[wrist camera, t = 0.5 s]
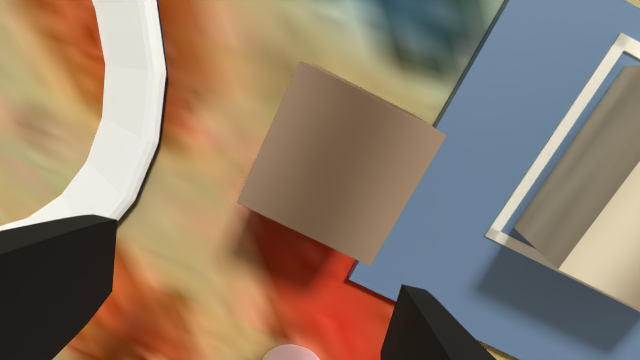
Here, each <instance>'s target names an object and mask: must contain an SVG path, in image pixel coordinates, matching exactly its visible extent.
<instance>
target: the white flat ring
mask: <svg viewBox="0 0 640 360" xmlns="http://www.w3.org/2000/svg"><path fill="white" fill-rule="evenodd" d="M92 2H93V4H94V7H95V10H96V15H97V21H98V27H99V32H100V38H101V43H102V49H103V54H104V60H105V65H106V66H105V82H104V98H103V113H102V119H101V122H100V125H99V128H98V131H97V134H96V136H95V139H94V142H93V145H92V148H91V151H90V153H89V156H88V159H87V162H86V163H85V164H84V166H83V167H82V168H81V169H80V171H79V172H78V173H77V175H76V176H75V177H74V179H73V180H72V181H71V183H70V184H69V185H68V187H67V188H66V189H65V191H64V192H63V193H62V195H61V196H59V197H58V198H56V199H55V200H53V201H52V202H50V203H49V204H47V205H46V206H45V207H43V208H42V209H40V210H39V211H37V212H36V213H34V214H33V215H31V216H30V217H29V218H26V219H23V220H19V221H16V222H12V223H9V224H6V225H2V226H0V231H1V230H6V229H11V228H16V227H21V226H26V225H31V224H36V223H41V222H46V221H51V220H56V219H61V218H67V217H73V216H80V215H90V214H95V215H99V216H103V217H108V218H112V219H117V222H118V221H119V220H120V218H121V217H122V216H123V215H124V214H125V212H126V211H127V210H128V209H129V208H130V206H131V205H132V204H133V203H134V202H135V200H136V199H137V196H138V194H139V191H140V189H141V187H142V184H143V182H144V179H145V177H146V174H147V172H148V170H149V167H150V165H151V162H152V160H153V157H154V155H155V152H156V150H157V148H158V145H159V143H160V135H161V126H162V118H163V109H164V100H165V91H166V82H167V73H168V71H167V64H166V57H165V49H164V42H163V35H162V27H161V20H160V13H159V5H158V0H92Z"/></svg>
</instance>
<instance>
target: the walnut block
mask: <svg viewBox="0 0 640 360" xmlns="http://www.w3.org/2000/svg"><path fill="white" fill-rule="evenodd" d="M445 137H446V135H445V134H443V133H442V132H440V131H439V130H437V129H436V128H434V127H433V126H431V125H429V124H428V123H426V122H425V121H423V120H422V119H420V118H419V117H417V116H416V115H414V114H412V113H410V112H408V111H406V110H404V109H402V108H400V107H398V106H396V105H394V104H392V103H390V102H388V101H386V100H384V99H382V98H380V97H378V96H376V95H374V94H372V93H370V92H368V91H366V90H364V89H362V88H360V87H358V86H356V85H354V84H352V83H350V82H348V81H346V80H344V79H342V78H340V77H338V76H336V75H334V74H332V73H331V72H329V71H327V70H325V69H323V68H321V67H319V66H317V65H314V64H309V63H304V62H299V64H298V66H297V68H296V70H295V73H294V75H293V77H292V79H291V82H290V84H289V86H288V88H287V91H286V93H285V95H284V97H283V99H282V102H281V104H280V106H279V108H278V111H277V113H276V115H275V117H274V120H273V122H272V124H271V126H270V129H269V131H268V133H267V135H266V138H265V140H264V142H263V144H262V147H261V149H260V151H259V153H258V156H257V158H256V160H255V162H254V164H253V167H252V169H251V171H250V173H249V176H248V178H247V180H246V182H245V185H244V187H243V189H242V191H241V194H240V196H239V198H238V200H237V203H238V204H240V205H242V206H244V207H247V208H249V209H251V210H253V211H255V212H257V213H259V214H261V215H263V216H265V217H268V218H270V219H272V220H274V221H276V222H278V223H280V224H282V225H284V226H287V227H289V228H291V229H293V230H295V231H297V232H299V233H301V234H303V235H306V236H308V237H310V238H312V239H314V240H316V241H318V242H320V243H322V244H325V245H327V246H329V247H331V248H333V249H335V250H337V251H339V252H341V253H344V254H346V255H348V256H350V257H352V258H354V259H356V260H358V261H360V262H363V263H365V264H367V265H369V266H370V265H371V263H372V262H373V260H374V258H375V257H376V255H377V253H378V252H379V250H380V248H381V246H382V245H383V243H384V241H385V240H386V238H387V236H388V234H389V233H390V231H391V229H392V228H393V226H394V224H395V223H396V221H397V219H398V217H399V216H400V214H401V212H402V211H403V209H404V207H405V206H406V204H407V202H408V200H409V199H410V197H411V195H412V194H413V192H414V190H415V188H416V187H417V185H418V183H419V182H420V180H421V178H422V177H423V175H424V173H425V171H426V170H427V168H428V166H429V165H430V163H431V161H432V159H433V158H434V156H435V154H436V153H437V151H438V149H439V148H440V146H441V144H442V142H443V141H444V139H445Z"/></svg>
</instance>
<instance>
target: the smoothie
mask: <svg viewBox="0 0 640 360" xmlns="http://www.w3.org/2000/svg"><path fill="white" fill-rule="evenodd" d="M262 360H320V359H319V358H318V356H317V355H316V354H315V353H313V352H312V351H311V350H309V349H307V348H305V347H303V346H299V345H294V344H285V345H280V346H277V347H274V348H272V349H271V350H269V351H268V352H267V353H266V354H265V355H264V356H263V358H262Z"/></svg>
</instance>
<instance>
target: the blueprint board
mask: <svg viewBox="0 0 640 360" xmlns="http://www.w3.org/2000/svg"><path fill="white" fill-rule="evenodd" d="M631 65H640V8H638V7H636V6H634V5H632V4H631V3H629V2H627V1H625V0H505V1H504V3H503V5H502V7H501V8H500V10H499V12H498V14H497V15H496V17H495V19H494V21H493V22H492V24H491V26H490V28H489V29H488V31H487V33H486V35H485V36H484V38H483V40H482V42H481V43H480V45H479V47H478V49H477V50H476V52H475V54H474V56H473V57H472V59H471V61H470V63H469V64H468V66H467V68H466V69H465V71H464V73H463V75H462V76H461V78H460V80H459V82H458V83H457V85H456V87H455V89H454V90H453V92H452V94H451V96H450V97H449V99H448V101H447V103H446V104H445V106H444V108H443V110H442V111H441V113H440V115H439V117H438V118H437V120H436V122H435V124H434V125H433V127H434V128H436V129H437V130H439V131H440V132H442V133H443V134H445V135H446V137H445V139H444V141H443V142H442V144H441V146H440V148H439V149H438V151H437V153H436V154H435V156H434V158H433V159H432V161H431V163H430V165H429V166H428V168H427V170H426V171H425V173H424V175H423V177H422V178H421V180H420V182H419V183H418V185H417V187H416V188H415V190H414V192H413V194H412V195H411V197H410V199H409V200H408V202H407V204H406V206H405V207H404V209H403V211H402V212H401V214H400V216H399V217H398V219H397V221H396V223H395V224H394V226H393V228H392V229H391V231H390V233H389V234H388V236H387V238H386V240H385V241H384V243H383V245H382V246H381V248H380V250H379V252H378V253H377V255H376V257H375V258H374V260H373V262H372V263H371V265H370V266H369V265H367V264H365V263H363V262H360V261H358V260H356V262H355V263H354V265H353V267H352V269H351V270H350V272H349V280H351V281H353V282H355V283H358V284H360V285H362V286H364V287H366V288H368V289H370V290H372V291H375V292H377V293H379V294H381V295H383V296H385V297H387V298H390V299H392V300H394V301H397V298H398V295H399V291H400V288H401V285H402V284H403V285H408V286H412V287H417V288H421V289H425V290H427V291H428V292H429V293H431V294H432V295H433V296H434V297H435V298H436V299H437V300H438V301H439V302H440V303H441V304H442V305H443V306H444V307H445V308H446V309H447V310H448V311H449V312H450V313H451V314H452V316H453V317H454V318H455V319H456V320H457V321H458V322H459V323H460V324H461V325H462V326H463V327H464V328H465V329H466V330H467V331H468V332H469V333H470V334H471V335H472V336H473V337H474V338H475V339H477V340H479V341H481V342H483V343H485V344H487V345H490V346H492V347H494V348H496V349H498V350H500V351H502V352H504V353H507V354H509V355H511V356H513V357H515V358H517V359H519V360H640V309H638V308H636V307H634V306H632V305H630V304H628V303H626V302H624V301H622V300H620V299H618V298H616V297H614V296H611V295H609V294H607V293H605V292H603V291H601V290H599V289H597V288H595V287H593V286H591V285H589V284H587V283H585V282H583V281H581V280H579V279H577V278H575V277H573V276H571V275H569V274H567V273H564V272H562V271H560V270H558V269H557V268H556V267H555V266H554V265H553V264H552V263H551V262H550V261H549V260H548V259H547V258H545V257H544V256H543V255H542V254H541V253H540V252H539V251H538V250H537V249H536V248H535V247H534V246H533V245H532V244H531V243H530V242H528V241H527V240H526V239H525V238H524V237H523V236H522V235H521V234H520V233H519V232H518V231H517V230H516V229H515V228H514V225H515V224H516V222H517V221H518V220H519V218H520V217H521V215H522V214H523V212H524V211H525V209H526V208H527V206H528V205H529V204H530V202H531V201H532V199H533V198H534V196H535V195H536V193H537V192H538V191H539V189H540V188H541V186H542V185H543V183H544V182H545V180H546V179H547V177H548V176H549V175H550V173H551V172H552V170H553V169H554V167H555V166H556V164H557V163H558V162H559V160H560V159H561V157H562V156H563V154H564V153H565V151H566V150H567V148H568V147H569V146H570V144H571V143H572V141H573V140H574V138H575V137H576V135H577V134H578V133H579V131H580V130H581V128H582V127H583V125H584V124H585V122H586V121H587V119H588V118H589V117H590V115H591V114H592V112H593V111H594V109H595V108H596V106H597V105H598V103H599V102H600V101H601V99H602V98H603V96H604V95H605V93H606V92H607V90H608V89H609V88H610V86H611V85H612V83H613V82H614V80H615V79H616V77H617V76H618V74H619V73H620V72H621V70H622V69H623V67H624V66H631Z"/></svg>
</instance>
